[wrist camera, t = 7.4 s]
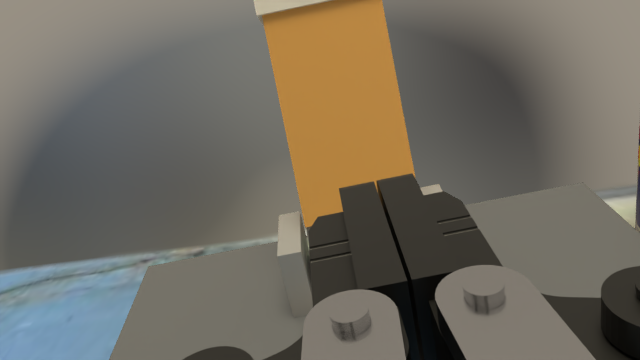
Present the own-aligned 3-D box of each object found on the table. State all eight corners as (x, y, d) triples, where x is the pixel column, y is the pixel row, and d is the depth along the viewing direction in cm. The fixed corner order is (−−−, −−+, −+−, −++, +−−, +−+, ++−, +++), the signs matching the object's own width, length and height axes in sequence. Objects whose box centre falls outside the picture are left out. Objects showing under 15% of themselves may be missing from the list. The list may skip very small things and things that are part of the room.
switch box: (131, 492, 24) (57, 344, 21) (175, 336, 33) (129, 216, 30) (696, 392, 23) (715, 220, 20) (582, 260, 32) (582, 126, 29)
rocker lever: (314, 297, 24) (250, -15, 23) (316, 279, 27) (259, 2, 26) (439, 274, 24) (379, -43, 23) (427, 258, 27) (374, -22, 26)
